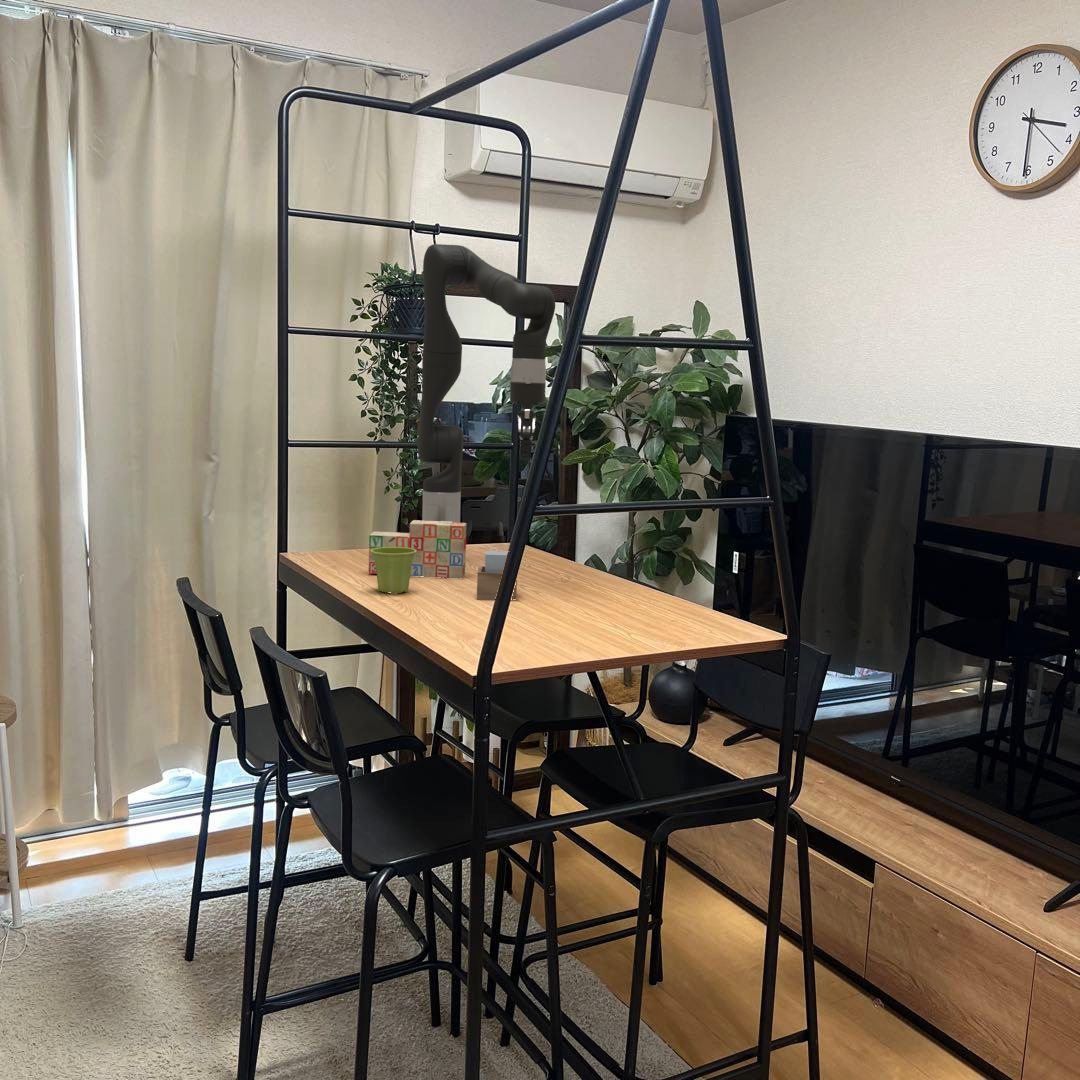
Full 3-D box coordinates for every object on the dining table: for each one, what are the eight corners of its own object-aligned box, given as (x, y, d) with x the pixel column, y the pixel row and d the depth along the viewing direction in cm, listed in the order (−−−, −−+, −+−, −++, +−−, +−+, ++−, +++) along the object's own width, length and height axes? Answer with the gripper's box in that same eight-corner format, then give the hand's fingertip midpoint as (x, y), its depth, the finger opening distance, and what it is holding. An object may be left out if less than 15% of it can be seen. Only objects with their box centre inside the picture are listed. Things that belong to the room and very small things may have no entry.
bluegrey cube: (485, 574, 218) (486, 550, 218) (509, 575, 218) (510, 551, 218) (484, 578, 213) (485, 554, 213) (509, 579, 213) (510, 555, 213)
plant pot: (371, 595, 212) (371, 553, 211) (369, 587, 221) (369, 546, 220) (417, 595, 214) (418, 553, 213) (413, 587, 223) (414, 546, 222)
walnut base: (478, 591, 220) (479, 566, 219) (516, 593, 220) (517, 567, 220) (476, 599, 212) (477, 572, 212) (516, 600, 212) (517, 573, 212)
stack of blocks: (367, 575, 235) (368, 521, 234) (373, 571, 242) (373, 518, 240) (462, 579, 235) (464, 525, 233) (465, 575, 241) (467, 521, 239)
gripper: (510, 380, 230) (508, 454, 232) (510, 380, 216) (507, 458, 218) (545, 381, 230) (542, 455, 233) (546, 381, 216) (543, 460, 218)
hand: (525, 457), depth 225 cm, fingers open, 8 cm apart
